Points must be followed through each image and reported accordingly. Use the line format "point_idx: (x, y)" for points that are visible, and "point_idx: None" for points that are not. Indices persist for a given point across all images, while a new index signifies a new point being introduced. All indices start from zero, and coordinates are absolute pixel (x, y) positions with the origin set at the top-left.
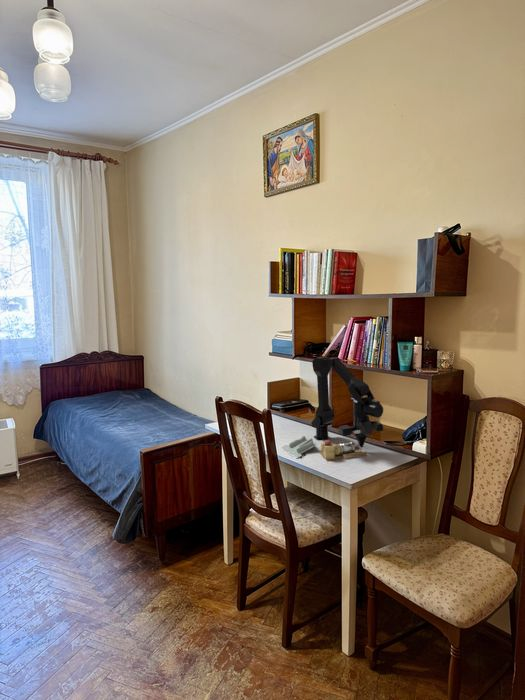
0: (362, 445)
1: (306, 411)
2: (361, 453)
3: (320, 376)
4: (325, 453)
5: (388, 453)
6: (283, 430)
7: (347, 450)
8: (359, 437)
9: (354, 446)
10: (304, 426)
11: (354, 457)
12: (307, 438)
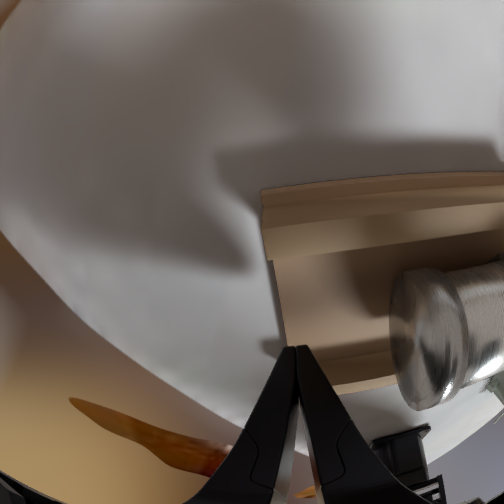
0: (288, 364)
1: None
2: (351, 212)
3: None
4: None
5: (51, 241)
6: (445, 450)
7: (499, 275)
8: (363, 482)
9: (441, 326)
10: None
11: (433, 180)
12: (500, 416)
